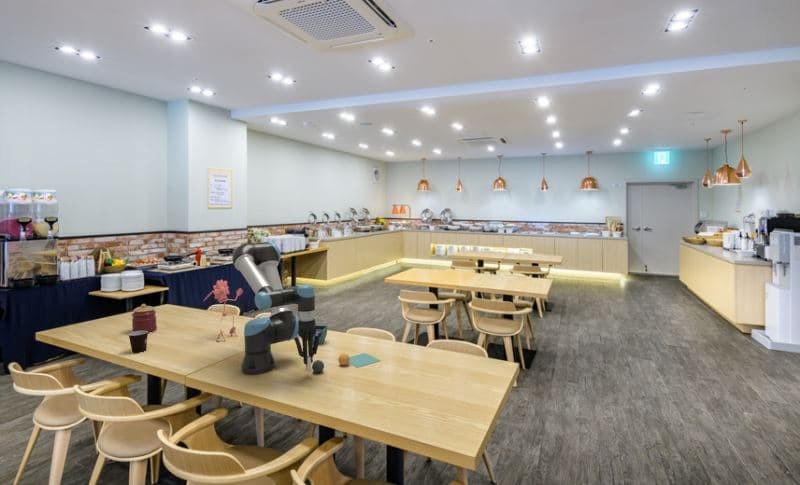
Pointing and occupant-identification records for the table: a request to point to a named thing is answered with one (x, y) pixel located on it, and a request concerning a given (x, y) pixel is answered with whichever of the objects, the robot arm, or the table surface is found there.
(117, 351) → the table surface
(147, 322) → the canister
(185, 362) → the table surface
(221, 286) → the pink stick figure
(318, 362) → the black ball
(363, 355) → the teal mark
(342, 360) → the orange ball
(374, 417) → the table surface
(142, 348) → the coffee mug
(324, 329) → the flower pot
